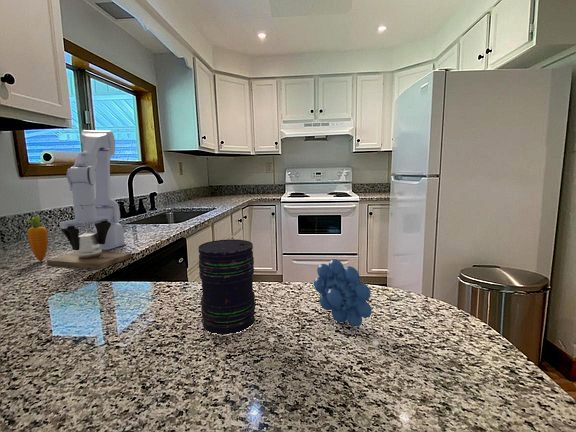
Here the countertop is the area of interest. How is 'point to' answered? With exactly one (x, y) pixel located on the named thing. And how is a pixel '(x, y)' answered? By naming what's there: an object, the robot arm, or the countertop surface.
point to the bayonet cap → (89, 245)
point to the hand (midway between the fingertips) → (89, 246)
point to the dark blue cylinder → (227, 285)
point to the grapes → (343, 292)
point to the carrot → (37, 238)
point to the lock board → (89, 260)
